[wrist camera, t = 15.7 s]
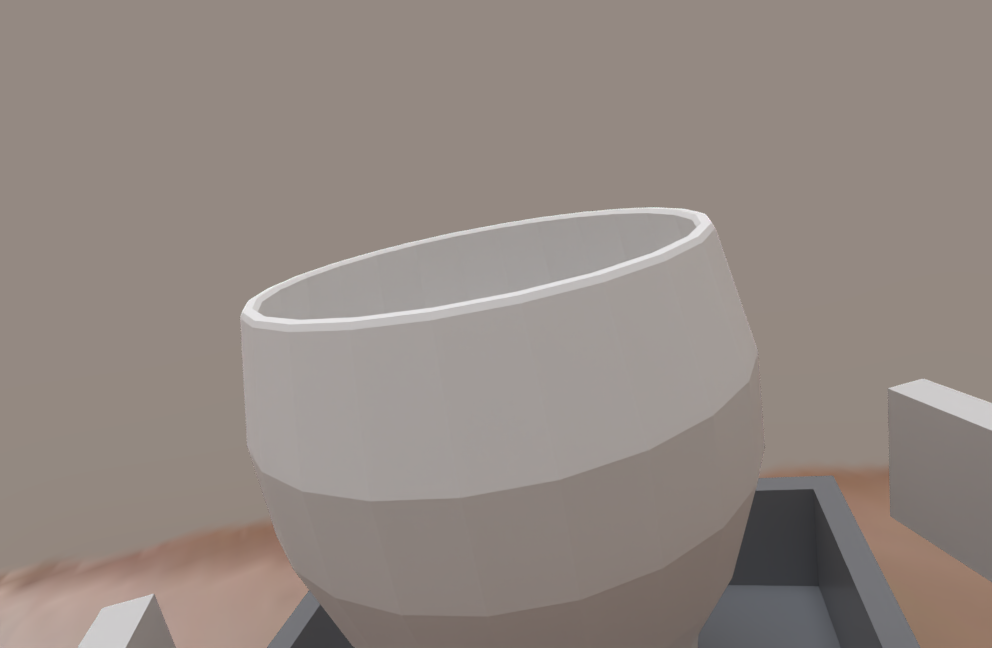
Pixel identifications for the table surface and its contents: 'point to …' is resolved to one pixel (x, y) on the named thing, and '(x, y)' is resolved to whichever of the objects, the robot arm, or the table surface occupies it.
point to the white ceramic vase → (512, 432)
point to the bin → (759, 582)
